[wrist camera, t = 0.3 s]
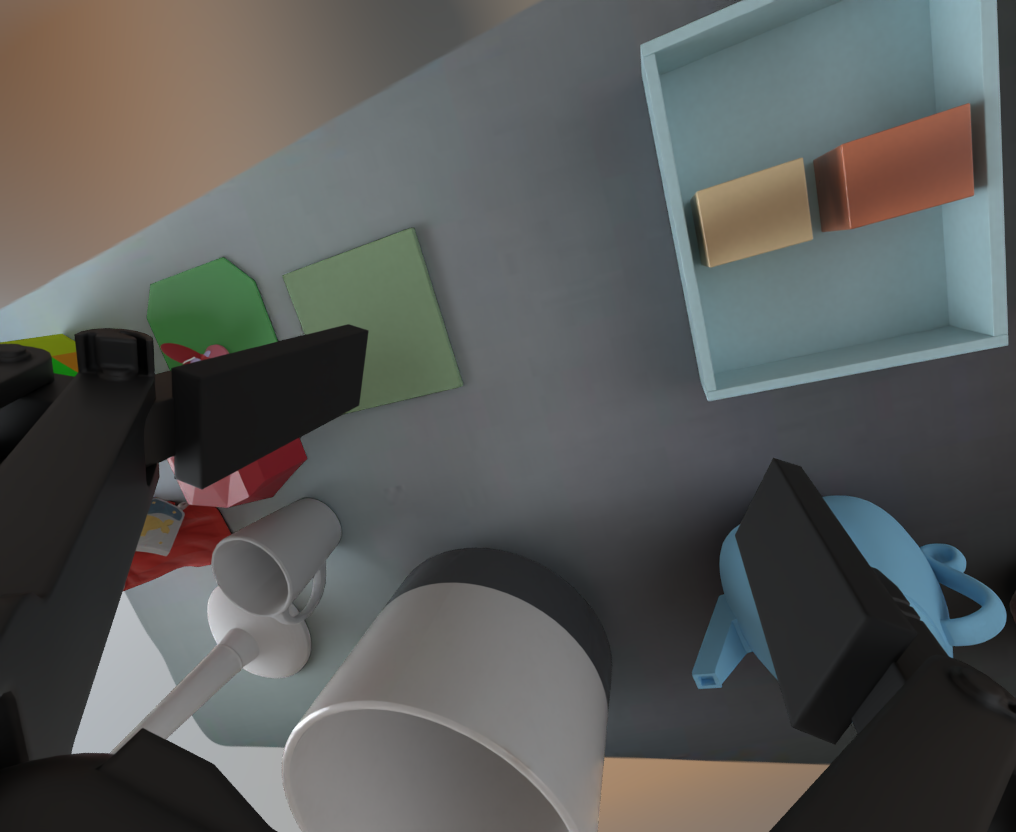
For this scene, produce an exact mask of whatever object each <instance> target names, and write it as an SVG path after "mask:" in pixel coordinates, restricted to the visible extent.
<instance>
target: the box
mask: <svg viewBox="0 0 1016 832" xmlns="http://www.w3.org/2000/svg"><path fill="white" fill-rule="evenodd" d="M640 47H641V69H642V79H643V84H644V89H645V94H646V100H647V105H648V110H649V115H650V120H651V126H652V131H653V136H654V141H655V146H656V152H657V157H658V162H659V167H660V173H661V178H662V183H663V188H664V193H665V199H666V204H667V209H668V214H669V219H670V225H671V230H672V235H673V240H674V245H675V251H676V256H677V261H678V266H679V271H680V277H681V282H682V287H683V292H684V298H685V303H686V308H687V313H688V318H689V324H690V329H691V334H692V339H693V344H694V350H695V355H696V360H697V365H698V370H699V376H700V381H701V384H702V387H703V389H704V392H705V395H706V397H707V400H708V401H714V400H719V399H724V398H730V397H735V396H740V395H746V394H751V393H756V392H762V391H767V390H772V389H778V388H783V387H788V386H794V385H799V384H804V383H810V382H815V381H820V380H826V379H831V378H836V377H842V376H847V375H852V374H858V373H863V372H868V371H874V370H879V369H884V368H890V367H895V366H900V365H906V364H911V363H917V362H922V361H927V360H933V359H938V358H943V357H949V356H954V355H959V354H965V353H970V352H975V351H981V350H986V349H991V348H997V347H1002V346H1007V345H1008V320H1007V290H1006V260H1005V230H1004V200H1003V170H1002V141H1001V111H1000V81H999V51H998V21H997V0H742V1H740V2H738V3H735V4H733V5H731V6H729V7H726V8H724V9H722V10H719V11H717V12H715V13H712V14H710V15H708V16H706V17H703V18H701V19H699V20H696V21H694V22H692V23H690V24H687V25H685V26H683V27H680V28H678V29H676V30H674V31H671V32H669V33H667V34H664V35H662V36H660V37H657V38H655V39H653V40H651V41H648V42H646V43H644V44H642V45H641V46H640ZM967 103H970V110H971V132H972V153H973V174H974V196H972V197H968V198H964V199H961V200H957V201H953V202H950V203H946V204H943V205H939V206H935V207H932V208H928V209H924V210H921V211H917V212H913V213H910V214H906V215H902V216H899V217H895V218H891V219H888V220H884V221H880V222H877V223H873V224H869V225H866V226H862V227H858V228H855V229H850V230H840V231H830V232H822V230H821V222H820V214H819V205H818V197H817V189H816V181H815V172H814V164H813V160H814V159H816V158H818V157H820V156H822V155H823V154H825V153H827V152H829V151H831V150H832V149H834V148H836V147H838V146H840V145H842V144H844V143H847V142H850V141H853V140H856V139H859V138H862V137H865V136H868V135H871V134H875V133H878V132H881V131H884V130H887V129H890V128H893V127H896V126H899V125H902V124H905V123H908V122H911V121H915V120H918V119H921V118H924V117H927V116H930V115H933V114H936V113H939V112H942V111H945V110H948V109H951V108H954V107H958V106H961V105H964V104H967ZM798 158H803V161H804V169H805V177H806V185H807V193H808V201H809V209H810V217H811V225H812V233H813V239H812V240H811V241H807V242H803V243H800V244H796V245H792V246H789V247H785V248H781V249H778V250H774V251H770V252H767V253H763V254H759V255H756V256H752V257H748V258H745V259H741V260H737V261H734V262H730V263H726V264H723V265H719V266H715V267H712V268H710V267H706V266H703V265H701V260H700V254H699V249H698V243H697V237H696V232H695V226H694V221H693V215H692V210H691V204H690V199H691V198H692V197H693V196H694V194H695V193H696V192H697V191H699V190H702V189H706V188H709V187H712V186H715V185H718V184H721V183H724V182H727V181H730V180H733V179H736V178H739V177H742V176H745V175H749V174H752V173H755V172H758V171H761V170H764V169H767V168H770V167H773V166H776V165H779V164H782V163H785V162H789V161H792V160H795V159H798Z"/></svg>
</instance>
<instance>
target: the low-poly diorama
mask: <svg viewBox="0 0 1016 832" xmlns="http://www.w3.org/2000/svg"><path fill="white" fill-rule="evenodd" d="M147 320H148V322H149V324H150V327H151V329H152V331H153V333H154V336H155V338H156V340H157V342H158V345H159V347H160V349H161V351H162V354H163V356H164V358H165V360H166V363H167V365H168V367H169V369H170V371H171V368H173V367H177V366H181V365H185V364H189V363H193V362H197V361H201V360H205V359H209V358H213V357H217V356H221V355H225V354H229V353H234V352H238V351H242V350H246V349H250V348H254V347H258V346H262V345H266V344H270V343H274V342H278V340H277V337H276V335H275V332H274V329H273V327H272V324H271V322H270V319H269V316H268V314H267V311H266V309H265V306H264V303H263V301H262V298H261V296H260V293H259V290H258V288H257V285H256V282H255V281H254V280H253V279H252V278H250V277H249V276H248V275H246V274H245V273H244V272H243V271H241V270H240V269H239V268H237V267H236V266H235V265H233V264H232V263H231V262H230V261H228V260H227V259H226V258H224V257H222V258H219V259H216V260H214V261H211V262H208V263H206V264H203V265H201V266H198V267H195V268H193V269H190V270H187V271H185V272H182V273H179V274H177V275H174V276H171V277H169V278H166V279H163V280H161V281H158V282H155V283H153V284H150V293H149V302H148V310H147ZM167 460H168V462H169V464H170V466H171V469H172V471H173V473H174V456H173V457H170V458H168V459H167ZM306 460H307V456H306V454H305V451H304V448H303V446H302V443H301V441H300V438H298V439H296V440H294V441H292V442H290V443H288V444H286V445H285V446H283V447H281V448H279V449H277V450H275V451H273V452H271V453H270V454H268V455H266V456H264V457H262V458H260V459H258V460H257V461H255V462H253V463H251V464H249V465H247V466H245V467H243V468H242V469H240V470H238V471H236V472H234V473H232V474H230V475H229V476H227V477H225V478H223V479H221V480H219V481H217V482H215V483H214V484H212V485H210V486H208V487H206V488H204V489H202V490H201V489H199V488H196V487H194V486H192V485H189V484H187V483H184V482H182V481H179V480H177V481H178V483H179V486H180V488H181V490H182V492H183V494H184V496H185V498H186V501H187V503H188V504H190V505H199V506H211V507H224V508H228V507H233V506H237V505H241V504H245V503H250V502H254V501H258V500H262V499H266V498H271V497H273V496H274V495H275V494H276V493H277V492H278V490H279V489H280V488H281V487H282V486H283V485H284V484H285V482H286V481H287V480H288V479H289V478H290V477H291V475H292V474H293V473H294V472H295V471H296V470H297V469H298V468H299V467H300V466H301V465H302V464H303V463H304V462H305V461H306ZM174 475H175V473H174Z"/></svg>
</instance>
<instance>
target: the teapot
mask: <svg viewBox="0 0 1016 832" xmlns="http://www.w3.org/2000/svg"><path fill="white" fill-rule="evenodd" d="M823 499H824V500H825V502H826V503H827V505H828V506H829V508H830V509H831V510H832V512H833V513H834V515H835V516H836V518H837V519H838V520H839V522H840V523H841V525H842V526H843V528H844V529H845V531H846V532H847V533H848V535H849V536H850V538H851V539H852V541H853V542H854V543H855V545H856V546H857V548H858V549H859V551H860V552H861V554H862V555H863V556H864V558H865V559H866V561H867V562H868V564H869V565H870V566H871V567H873V568H876V569H878V570H879V571H880V572H881V573H883V574H884V575H885V576H886V577H887V578H888V579H890V580H891V581H892V582H893V583H894V584H895V585H896V586H898V588H899V589H900V590H901V592H902V593H903V595H904V596H905V597H906V599H907V600H908V601H909V603H910V606H911V607H913V608H914V610H915V611H916V612H917V614H918V615H919V616H920V620H921V621H923V622H924V623H925V624H926V626H927V627H928V629H929V630H930V631H931V633H932V634H933V635H934V637H935V638H936V639H937V641H938V642H939V644H940V645H941V646H942V648H943V649H944V650H945V652H946V653H947V654H948V656H949V657H951V658H953V647H952V646H968V645H974V644H979V643H982V642H985V641H987V640H989V639H992V638H993V637H995V636H996V635H997V634H998V633H999V632H1001V630H1002V629H1003V628H1004V626H1005V623H1006V616H1007V615H1006V610H1005V607H1004V605H1003V603H1002V601H1001V600H1000V598H999V597H998V596H997V595H996V594H995V593H994V592H993V591H992V590H991V589H990V588H989V587H987V586H986V585H984V584H983V583H981V582H980V581H978V580H976V579H974V578H973V577H971V576H969V575H967V574H964V573H963V572H964V571H965V569H966V559H965V557H964V556H963V554H962V553H961V552H960V551H959V550H958V549H957V548H955V547H953V546H951V545H948V544H938V543H935V544H927V545H924V546H922V547H920V548H919V546H918V545H917V544H916V542H915V541H914V540H913V539H912V538H911V536H910V535H909V534H908V533H907V532H906V530H905V529H904V528H903V527H902V526H901V525H900V524H899V523H898V522H897V521H896V520H895V519H894V518H893V517H892V516H891V515H889V514H888V513H887V512H886V511H884V510H883V509H882V508H880V507H878V506H876V505H875V504H873V503H871V502H869V501H866V500H863V499H861V498H857V497H852V496H824V497H823ZM739 526H740V524H739V525H738V526H737V527H735V528H734V529H733V530H732V531H731V532H730V533H729V534H728V535H727V537H726V538H725V540H724V542H723V544H722V548H721V553H720V564H719V567H720V577H721V582H722V587H723V591H724V594H723V595H720V596H719V597H718V600H717V603H716V606H715V609H714V612H713V614H712V617H711V620H710V623H709V626H708V628H707V631H706V634H705V637H704V640H703V642H702V645H701V648H700V651H699V654H698V657H697V659H696V662H695V665H694V668H693V671H692V676H693V678H694V680H695V682H696V685H697V687H698V689H706V688H722V683H723V682H724V681H725V680H726V678H727V677H728V676H729V675H730V673H731V672H732V671H733V670H734V668H735V667H736V666H737V665H738V663H739V662H740V661H741V660H742V659H743V657H744V656H745V655H746V654H747V653H750V652H754V653H755V655H756V656H757V657H758V659H759V660H760V661H761V662H762V663H763V664H764V665H765V667H766V668H767V669H768V670H769V671H770V672H771V674H772V675H773V676H774V677H775V678H776V679H777V676H776V672H775V669H774V666H773V662H772V659H771V655H770V652H769V649H768V645H767V642H766V639H765V635H764V632H763V629H762V625H761V622H760V618H759V615H758V612H757V608H756V605H755V602H754V598H753V595H752V591H751V588H750V585H749V581H748V578H747V575H746V571H745V568H744V565H743V561H742V558H741V554H740V551H739V548H738V544H737V541H736V538H735V534H736V532H737V530H738V528H739ZM939 583H941V584H943V585H945V586H947V587H949V588H951V589H953V590H955V591H957V592H959V593H961V594H963V595H965V596H967V597H969V598H971V599H972V600H974V601H976V602H977V603H979V604H980V605H981V606H982V607H981V608H980V609H979V610H978V611H976V612H974V613H972V614H970V615H968V616H964V617H961V618H955V619H950V618H949V613H948V608H947V605H946V601H945V598H944V595H943V592H942V589H941V587H940V584H939ZM777 680H778V679H777Z"/></svg>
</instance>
